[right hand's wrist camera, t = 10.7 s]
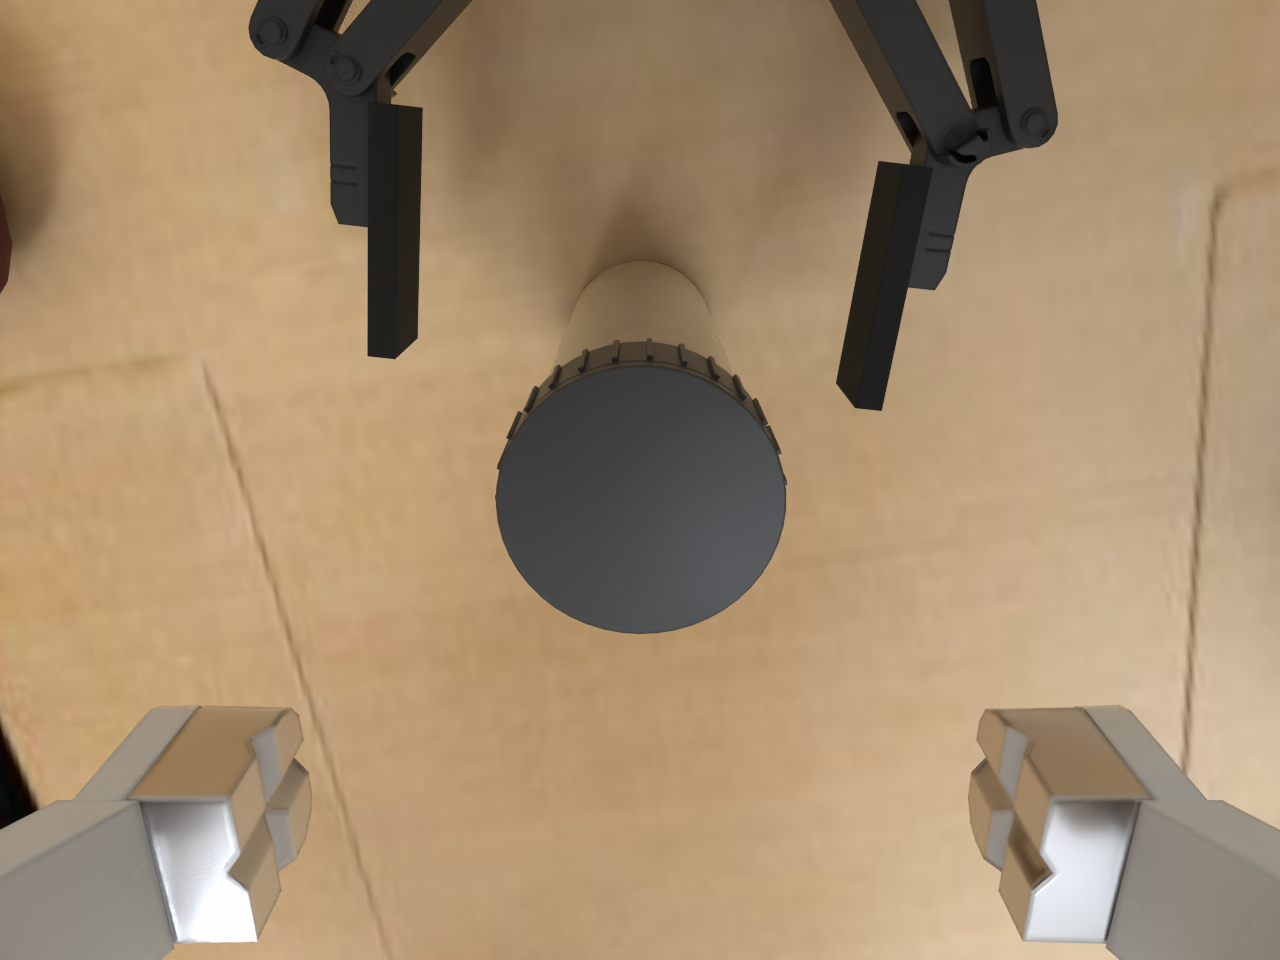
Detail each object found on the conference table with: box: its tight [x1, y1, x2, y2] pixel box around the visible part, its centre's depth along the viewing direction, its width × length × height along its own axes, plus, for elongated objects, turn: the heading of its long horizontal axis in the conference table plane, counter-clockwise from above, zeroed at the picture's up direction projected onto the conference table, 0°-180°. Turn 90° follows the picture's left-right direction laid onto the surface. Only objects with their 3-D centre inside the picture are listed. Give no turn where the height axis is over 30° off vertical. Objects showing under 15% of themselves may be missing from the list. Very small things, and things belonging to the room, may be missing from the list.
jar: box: [548, 261, 733, 377], centre depth 25 cm, size 5×5×16 cm
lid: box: [495, 338, 787, 634], centre depth 18 cm, size 6×6×2 cm
